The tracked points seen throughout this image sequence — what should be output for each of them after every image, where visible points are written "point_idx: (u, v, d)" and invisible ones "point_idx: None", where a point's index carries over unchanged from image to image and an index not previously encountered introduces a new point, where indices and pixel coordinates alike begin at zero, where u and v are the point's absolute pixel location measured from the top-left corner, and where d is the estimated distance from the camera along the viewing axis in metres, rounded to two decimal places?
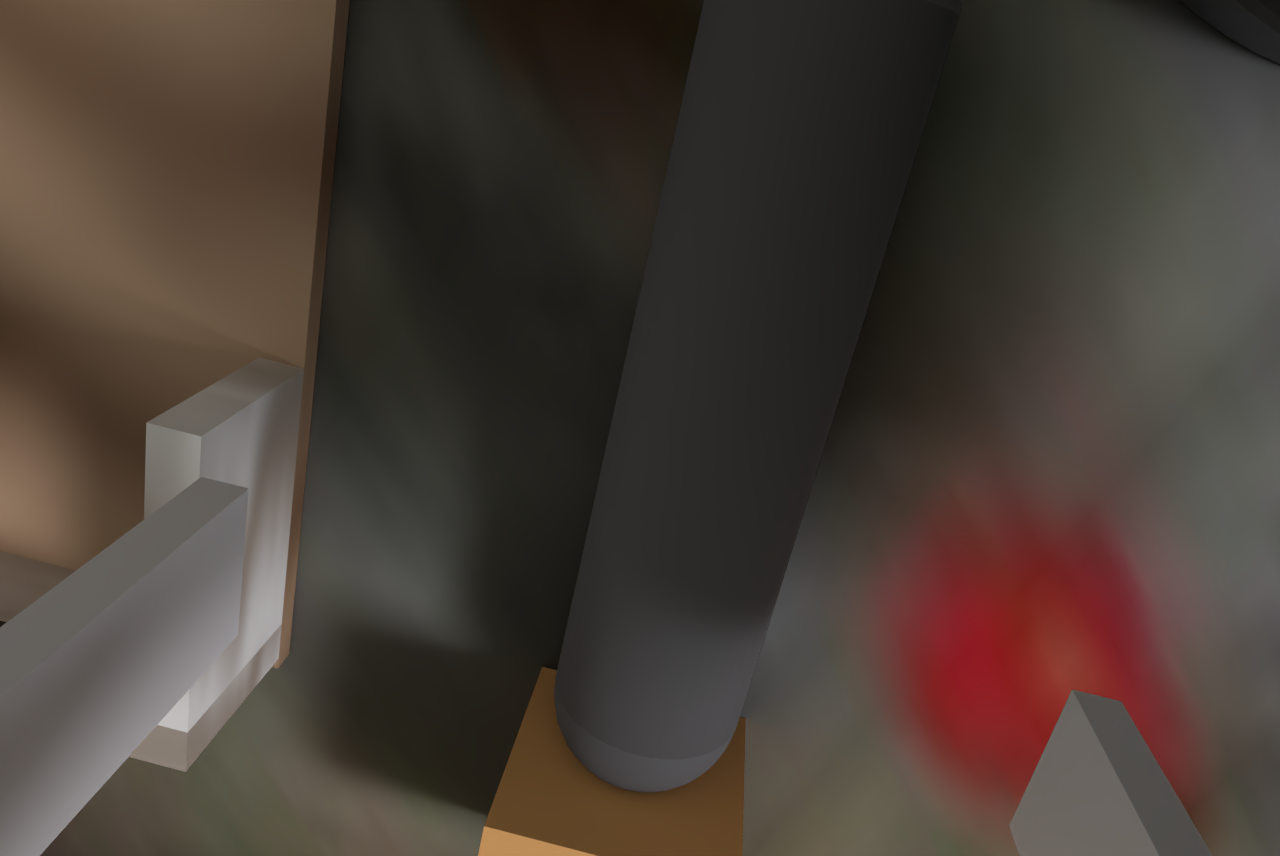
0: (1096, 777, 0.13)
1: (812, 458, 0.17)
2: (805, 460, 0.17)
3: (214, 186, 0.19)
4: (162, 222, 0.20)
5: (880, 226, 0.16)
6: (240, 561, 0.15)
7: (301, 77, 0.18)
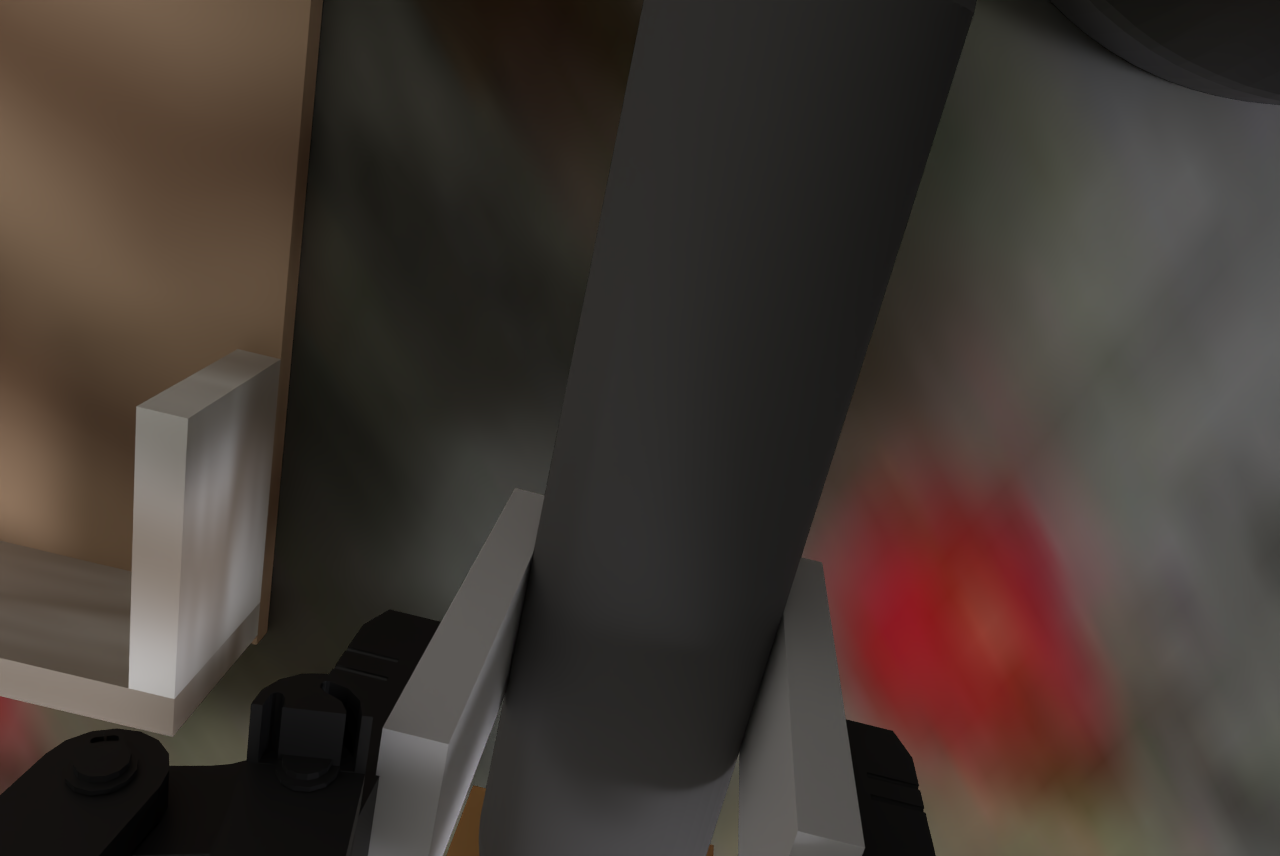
0: None
1: (788, 569, 0.14)
2: (780, 573, 0.14)
3: (195, 189, 0.21)
4: (145, 223, 0.21)
5: (873, 285, 0.12)
6: None
7: (276, 87, 0.20)
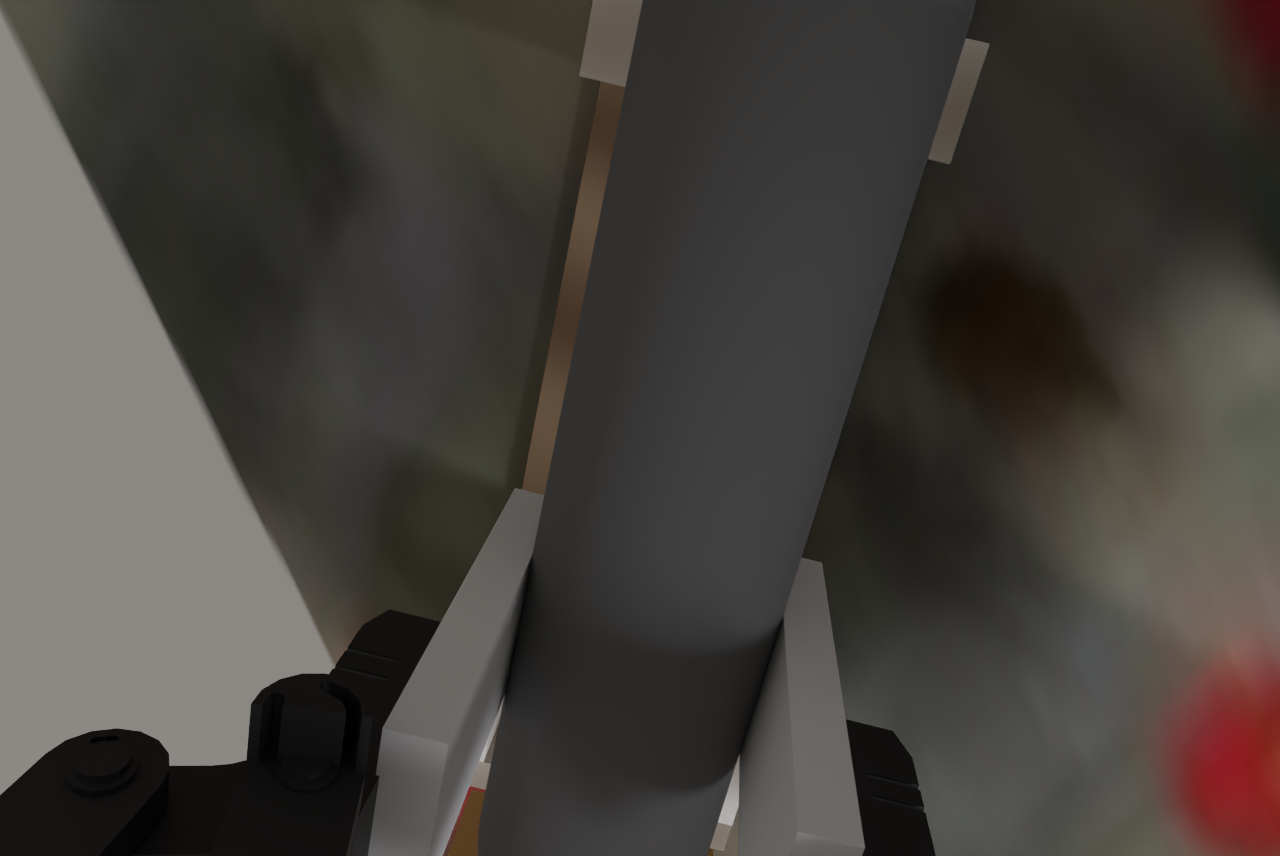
0: None
1: (787, 574, 0.14)
2: (778, 578, 0.13)
3: None
4: None
5: (871, 290, 0.12)
6: None
7: None
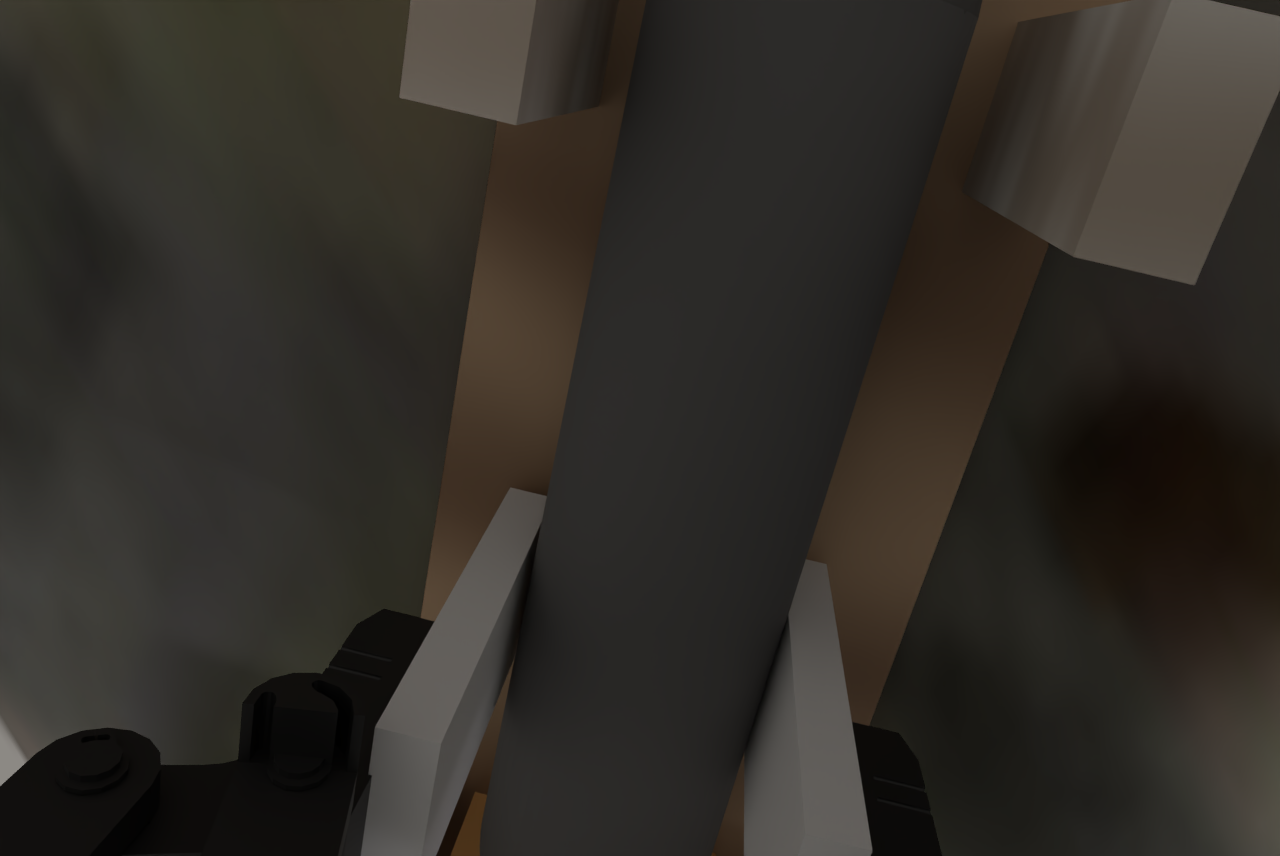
0: None
1: (790, 578, 0.14)
2: (781, 582, 0.13)
3: None
4: None
5: (876, 292, 0.12)
6: None
7: (879, 610, 0.17)
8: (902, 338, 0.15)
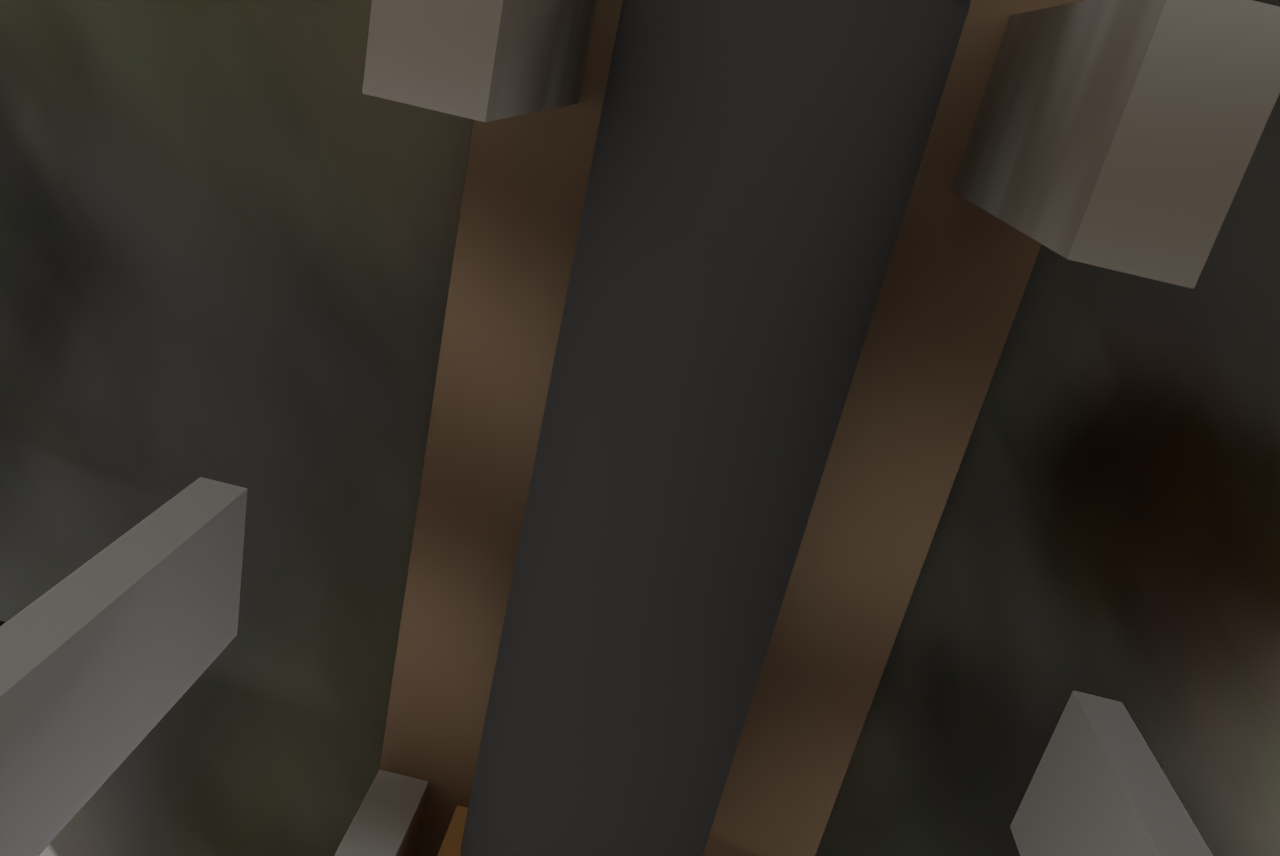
0: (1097, 777, 0.13)
1: (776, 589, 0.13)
2: (768, 594, 0.13)
3: None
4: None
5: (863, 295, 0.12)
6: (239, 562, 0.15)
7: (868, 619, 0.17)
8: (891, 341, 0.15)
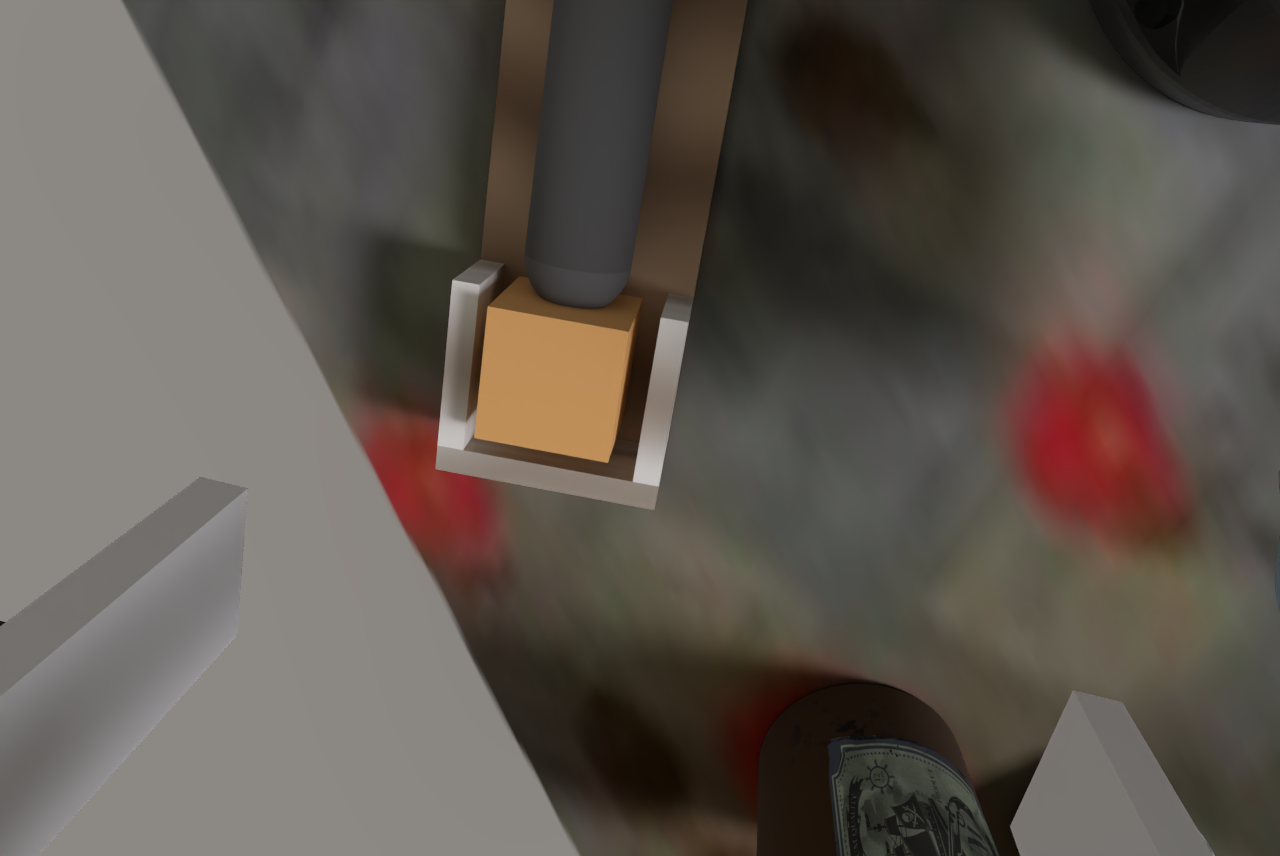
0: (1096, 777, 0.13)
1: (649, 84, 0.32)
2: (644, 83, 0.32)
3: (653, 202, 0.37)
4: None
5: None
6: (239, 561, 0.15)
7: (706, 143, 0.36)
8: None
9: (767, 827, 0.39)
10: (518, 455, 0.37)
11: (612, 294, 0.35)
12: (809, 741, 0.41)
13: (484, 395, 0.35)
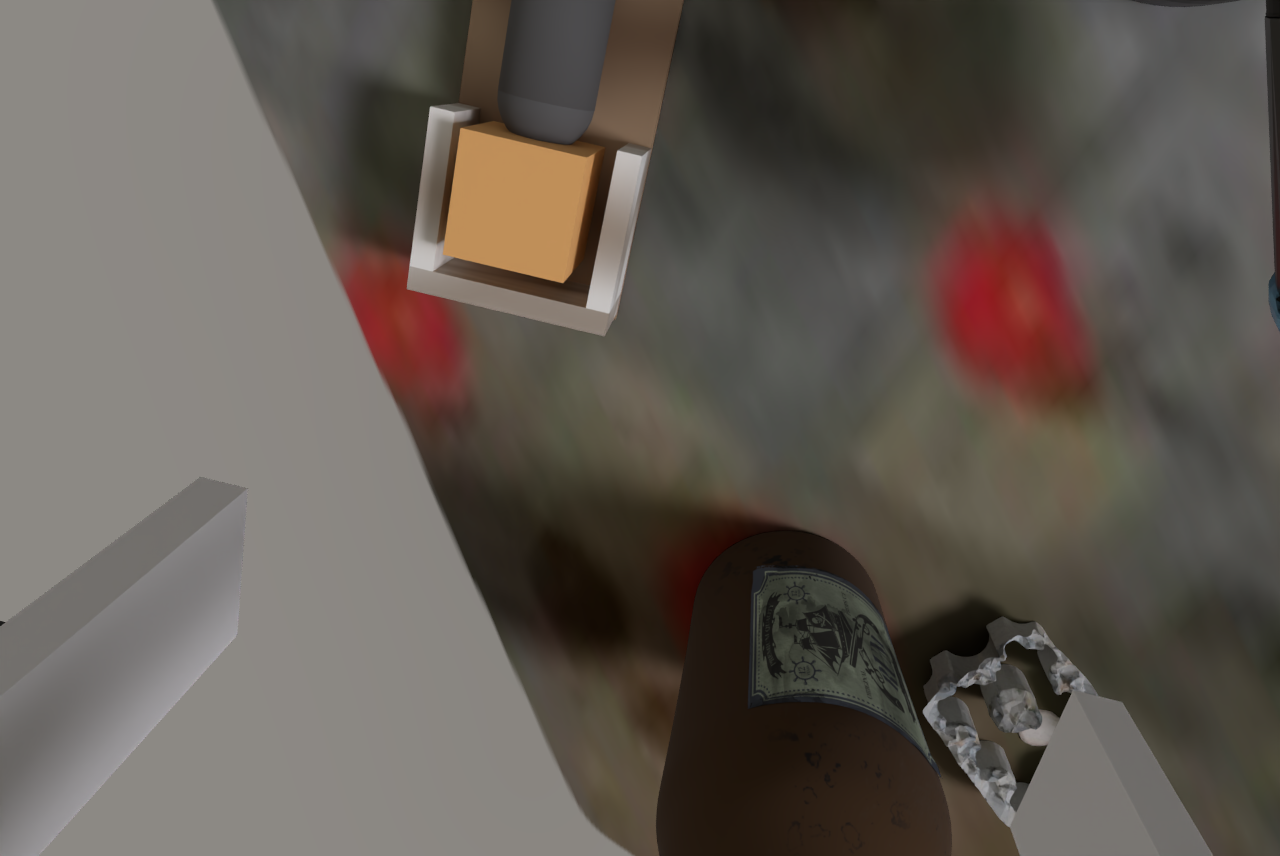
0: (1097, 777, 0.13)
1: None
2: None
3: (618, 55, 0.40)
4: None
5: None
6: (239, 562, 0.15)
7: (669, 1, 0.39)
8: None
9: (693, 640, 0.43)
10: (482, 280, 0.41)
11: (575, 131, 0.39)
12: (738, 572, 0.45)
13: (453, 213, 0.38)
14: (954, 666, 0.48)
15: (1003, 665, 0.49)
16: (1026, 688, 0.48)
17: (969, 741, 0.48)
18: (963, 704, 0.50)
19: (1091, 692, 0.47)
